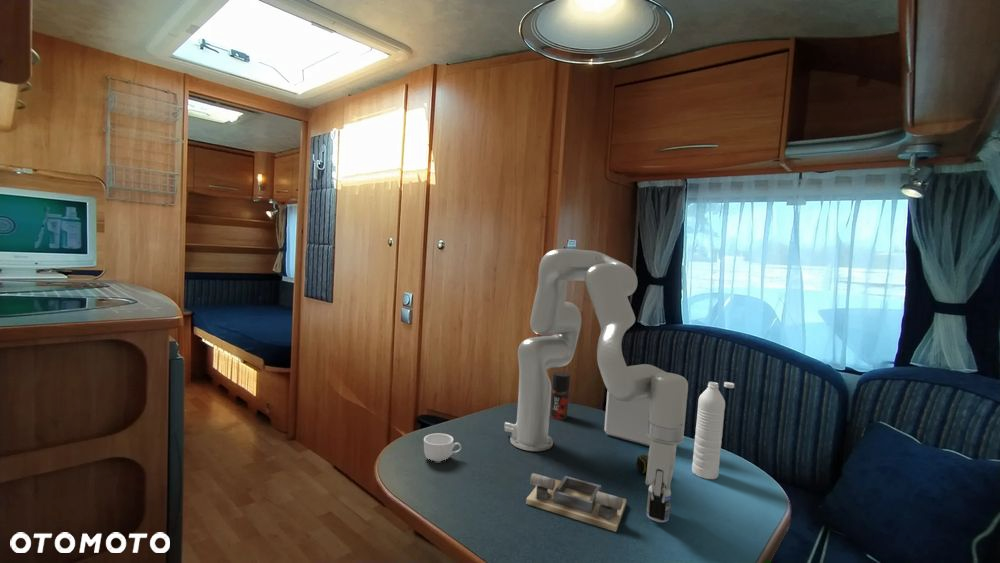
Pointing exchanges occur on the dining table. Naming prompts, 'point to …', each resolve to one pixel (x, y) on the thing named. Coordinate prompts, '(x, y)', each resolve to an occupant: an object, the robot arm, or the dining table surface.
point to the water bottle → (709, 432)
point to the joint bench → (577, 500)
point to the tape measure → (642, 463)
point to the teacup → (439, 446)
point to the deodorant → (559, 395)
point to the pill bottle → (667, 499)
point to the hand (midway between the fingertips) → (658, 510)
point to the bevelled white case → (627, 419)
